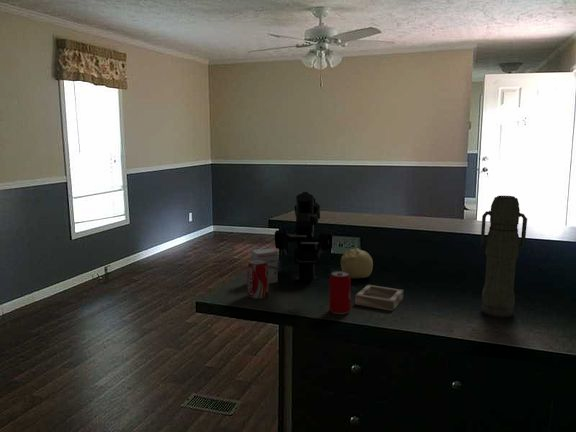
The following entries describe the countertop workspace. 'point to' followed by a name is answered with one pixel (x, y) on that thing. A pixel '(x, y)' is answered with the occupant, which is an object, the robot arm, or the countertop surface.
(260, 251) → the ink box
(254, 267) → the soda can
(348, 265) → the sculpture
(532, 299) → the countertop surface
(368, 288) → the can holder
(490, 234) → the thermos
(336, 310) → the beverage can
